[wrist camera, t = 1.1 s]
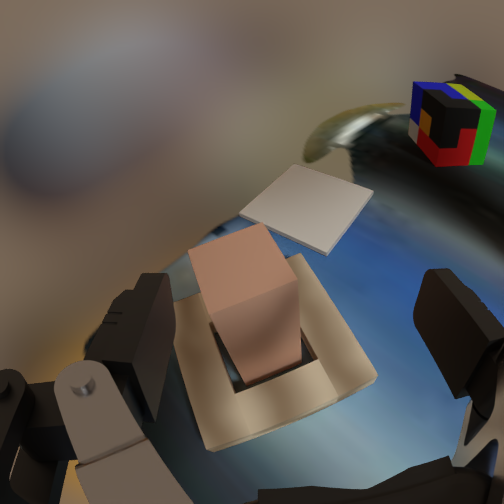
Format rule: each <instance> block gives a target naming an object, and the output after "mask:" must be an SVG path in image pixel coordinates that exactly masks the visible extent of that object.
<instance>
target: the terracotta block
mask: <svg viewBox="0 0 504 504" xmlns="http://www.w3.org/2000/svg"><path fill="white" fill-rule="evenodd" d="M187 251H188V254H189V257H190V260H191V263H192V266H193V269H194V272H195V275H196V278H197V281H198V284H199V287H200V290H201V293H202V296H203V299H204V302H205V305H206V308H207V311H208V313H209V316H210V318H211V320H212V322H213V324H214V326H215V328H216V330H217V332H218V333H219V335H220V337H221V339H222V341H223V343H224V345H225V347H226V349H227V351H228V353H229V355H230V357H231V358H232V360H233V362H234V364H235V366H236V368H237V370H238V372H239V373H240V375H241V377H242V379H243V381H244V383H245V384H246V386H249V385H251V384H254V383H256V382H259V381H261V380H264V379H266V378H269V377H271V376H273V375H276V374H278V373H281V372H283V371H285V370H288V369H290V368H292V367H294V366H297V365H299V364H301V363H302V356H301V332H300V311H299V292H298V279H297V277H296V275H295V274H294V272H293V271H292V269H291V267H290V266H289V264H288V262H287V261H286V259H285V257H284V256H283V254H282V253H281V251H280V249H279V248H278V246H277V244H276V243H275V241H274V240H273V238H272V236H271V235H270V233H269V232H268V230H267V228H266V227H265V225H264V224H263V222H261V223H258V224H256V225H253V226H250V227H248V228H245V229H242V230H239V231H237V232H234V233H231V234H229V235H226V236H224V237H221V238H218V239H216V240H213V241H210V242H208V243H205V244H202V245H200V246H197V247H195V248H192V249H189V250H187Z"/></svg>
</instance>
